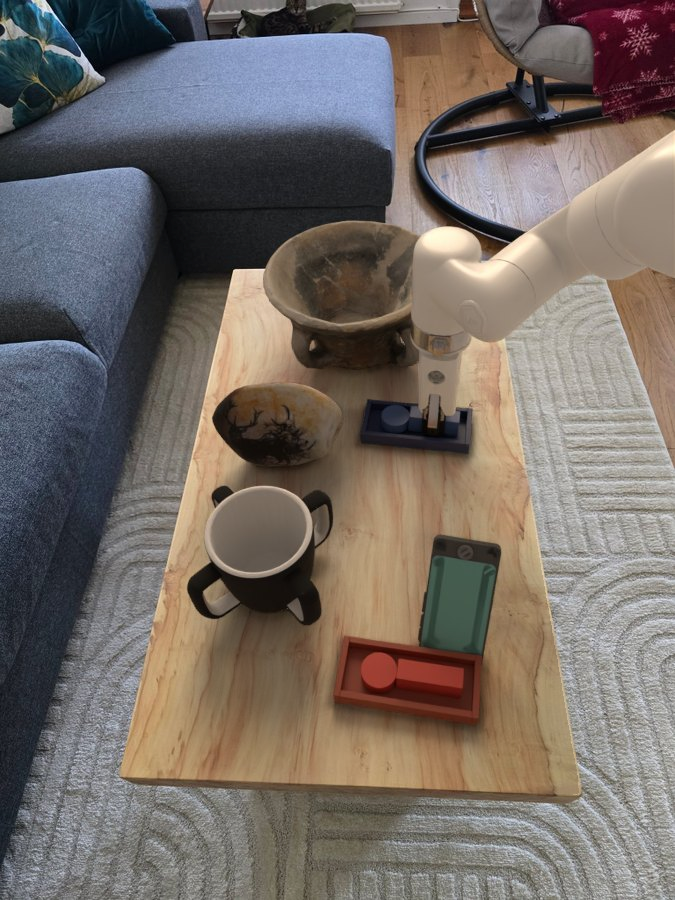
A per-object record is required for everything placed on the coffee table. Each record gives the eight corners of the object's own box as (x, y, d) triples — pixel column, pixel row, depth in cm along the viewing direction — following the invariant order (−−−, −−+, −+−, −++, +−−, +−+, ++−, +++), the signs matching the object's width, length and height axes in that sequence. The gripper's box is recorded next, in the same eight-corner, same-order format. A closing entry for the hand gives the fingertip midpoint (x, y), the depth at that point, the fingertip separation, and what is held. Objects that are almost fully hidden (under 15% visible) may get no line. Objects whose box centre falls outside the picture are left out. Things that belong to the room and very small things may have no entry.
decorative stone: (345, 434, 99) (339, 359, 87) (345, 483, 93) (339, 409, 82) (226, 438, 100) (205, 364, 88) (219, 487, 94) (195, 414, 83)
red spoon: (462, 671, 75) (464, 660, 73) (459, 707, 73) (462, 697, 70) (364, 656, 77) (363, 645, 75) (358, 691, 75) (357, 680, 72)
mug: (232, 517, 91) (214, 462, 82) (349, 536, 88) (344, 480, 79) (189, 630, 81) (163, 581, 72) (319, 655, 78) (310, 607, 69)
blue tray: (471, 418, 100) (472, 408, 98) (468, 454, 95) (470, 444, 94) (367, 408, 102) (367, 398, 100) (360, 443, 98) (359, 433, 96)
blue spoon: (458, 420, 99) (460, 406, 96) (456, 441, 96) (459, 427, 94) (383, 411, 100) (383, 397, 98) (379, 432, 97) (380, 418, 95)
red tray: (479, 663, 76) (481, 655, 75) (476, 725, 72) (478, 718, 70) (345, 643, 79) (344, 635, 77) (334, 702, 74) (333, 695, 73)
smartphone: (502, 549, 71) (481, 670, 75) (502, 544, 72) (481, 664, 77) (431, 537, 72) (415, 657, 77) (432, 532, 73) (416, 651, 78)
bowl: (292, 287, 122) (281, 212, 110) (440, 294, 118) (446, 217, 107) (258, 395, 105) (242, 319, 94) (430, 406, 102) (436, 329, 90)
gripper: (468, 375, 78) (456, 473, 92) (476, 289, 88) (463, 389, 102) (403, 370, 79) (400, 467, 93) (417, 285, 89) (413, 384, 103)
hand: (433, 425), depth 97 cm, fingers closed on blue spoon, 2 cm apart
